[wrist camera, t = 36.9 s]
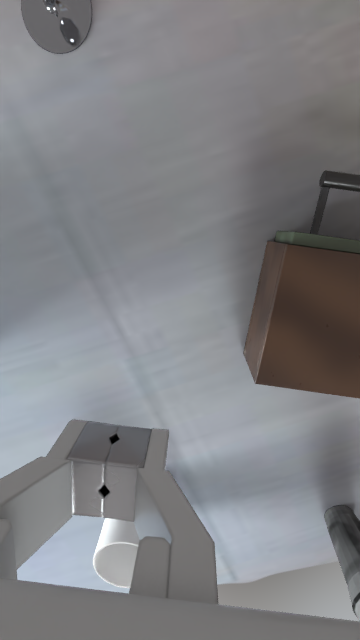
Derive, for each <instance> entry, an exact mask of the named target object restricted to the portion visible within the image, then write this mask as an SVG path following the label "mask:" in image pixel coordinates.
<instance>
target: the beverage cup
mask: <svg viewBox="0 0 360 640" xmlns="http://www.w3.org/2000/svg"><path fill="white" fill-rule="evenodd" d="M324 518H325V522H326V524H327V528H328V532H329V535H330V537H331V540H332V543H333V546H334V549H335V552H336V554H337V557H338V560H339V563H340V566H341V568H342V571H343V574H344V577H345V580H346V583H347V585H348V591H349V595H350V598H351V602H352V607H353V611H354V613H355V615H356V616H357V617H358V619H359V622H360V521H359V519H358V518H357V517H356V516H355V514H354V513H353V511H352V510H351V509H350V508H349V507H347V506H343V505H338V506H334V507H332V508H330V509H329V510H327V511H326V513H325V516H324Z"/></svg>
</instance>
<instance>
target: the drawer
mask: <svg viewBox="0 0 360 640" xmlns="http://www.w3.org/2000/svg"><path fill="white" fill-rule="evenodd" d="M319 184H320V186H321V187H322V188H321V192H320V196H319V200H318V203H317V207H316V211H315V215H314V219H313V223H312V227H311V231H310V234H308V233H301V232H288V231H277V233H276V237H275V242H278V243H284V244H291V245H298V246H305V247H312V248H319V249H326V250H334V251H341V252H348V253H355V254H360V241H359V240H351V239H344V238H337V237H330V236H323V235H318V231H319V227H320V223H321V219H322V215H323V212H324V208H325V204H326V200H327V196H328V192H329V189H330V188H335V189H342V190H350V191H357V192H360V175H355V174H348V173H340V172H333V171H324V172H323V173H322V175H321V178H320V183H319Z"/></svg>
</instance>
